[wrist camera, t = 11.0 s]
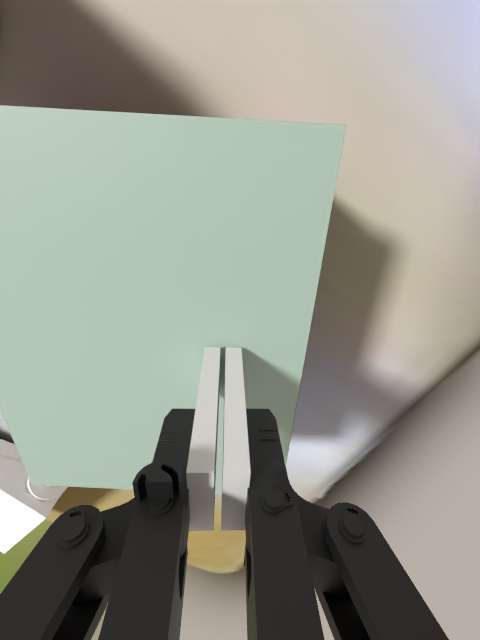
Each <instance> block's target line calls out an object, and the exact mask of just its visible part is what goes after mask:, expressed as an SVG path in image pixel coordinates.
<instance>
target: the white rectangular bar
mask: <svg viewBox="0 0 480 640" xmlns="http://www.w3.org/2000/svg"><path fill="white" fill-rule="evenodd" d="M67 487H68V486H46V485H32V483H31V481H30V479H29V476H28V474H27V472H26V469H25V467H24V464H23V462H22V460H21V457H20V455H19V453H18V450H17V448H16V446H15V444H13V443H10V442H7V441H4V440H2V439H0V551H1V552H2V553H6V552H7V551H8V550H9V549H10V548H12V547H13V546H14V545H15V544H16V543H17V542H18V541H20V540H21V539H22V538H23V537H24V536H26V535H27V534H28V533H29V532H30V531H32V530H33V529H34V528H35V527H36V526H37V525H39V524H40V523H41V522H42V521H43V520H45V519H46V518H47V516H48V515H49V513H50V512H51V510H52V508H53V506H54V505H55V503H56V502H57V500H58V499H59V498H60V496H61V495H62V493H63V492H64V491H65V490H66V489H67Z"/></svg>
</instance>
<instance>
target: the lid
mask: <svg viewBox="0 0 480 640" xmlns="http://www.w3.org/2000/svg"><path fill="white" fill-rule="evenodd" d="M345 130H346V125H343V124H325V123H307V122H289V121H271V120H254V119H236V118H218V117H200V116H182V115H165V114H147V113H129V112H111V111H93V110H76V109H58V108H40V107H22V106H4V105H0V410H1V412H2V415H3V417H4V420H5V422H6V424H7V427H8V429H9V431H10V434H11V436H12V438H13V441H14V443H15V446H16V448H17V450H18V453H19V455H20V457H21V460H22V462H23V464H24V467H25V469H26V472H27V474H28V476H29V479H30V481H31V483H32V485H46V486H68V487H89V488H110V489H131V490H134V489H133V484H132V482H133V480H134V478H135V476H136V474H137V473H138V472H139V471H140V470H141V469H142V468H143V467H144V466H146V465H148V464H150V463H152V462H153V458H154V454H155V451H156V447H157V443H158V439H159V436H160V432H161V428H162V425H163V421H164V418H165V417H166V416H167V414H168V413H169V412H170V411H171V409H172V408H173V409H196V402H197V395H198V389H199V382H200V375H201V368H202V361H203V354H204V348H205V347H220V392H219V414H218V437H217V460H216V482H215V493H216V494H222V473H223V429H224V386H225V353H226V347H228V348H241V349H242V363H243V376H244V390H245V403H246V409H269V410H270V411H271V412H272V414H273V415H274V416H275V418H276V421H277V426H278V432H279V436H280V442H281V446H282V451H283V456H284V461H285V466H286V461H287V456H288V450H289V444H290V439H291V433H292V428H293V422H294V416H295V411H296V405H297V400H298V394H299V388H300V383H301V377H302V371H303V366H304V360H305V355H306V349H307V343H308V338H309V332H310V327H311V321H312V315H313V310H314V304H315V299H316V293H317V287H318V282H319V276H320V270H321V265H322V259H323V254H324V248H325V242H326V237H327V231H328V226H329V220H330V214H331V209H332V203H333V197H334V192H335V186H336V181H337V175H338V169H339V164H340V158H341V153H342V147H343V141H344V136H345Z"/></svg>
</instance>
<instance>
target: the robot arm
mask: <svg viewBox="0 0 480 640" xmlns="http://www.w3.org/2000/svg"><path fill="white" fill-rule="evenodd" d="M219 392H220V347H205V348H204V354H203V361H202V368H201V375H200V382H199V389H198V395H197V402H196V409H173V408H172V409H171V411H170V412H169V413H168V414H167V416H166V417H165V418H164V421H163V425H162V428H161V432H160V436H159V439H158V443H157V447H156V451H155V454H154V458H153V462H152V463H150V464H148V465H146V466H144V467H143V468H142V469H141V470H140V471H139V472H138V473H137V474H136V476H135V478H134V480H133V482H132V484H133V489H134V495H135V498H133V499H132V500H130V501H129V502H127V503H125V504H122V505H120V506H117V507H114V508H111V509H108V510H105V511H102V512H100V511H99V509H97V508H95V507H94V506H92V505H80V506H77V507H74V508H71V509H69V510H68V511H66V512H65V513H63V514H62V515H60V516H59V517H58V518H57V519H56V520H55V522H54V523H53V524H52V525H51V526H50V527H49V529H48V530H47V531H46V533H45V534H44V535H43V537H42V538H41V540H40V541H39V542H38V544H37V545H36V546H35V548H34V549H33V550H32V552H31V553H30V555H29V556H28V557H27V559H26V560H25V561H24V563H23V564H22V566H21V567H20V569H19V570H18V571H17V572H16V574H15V575H14V576H13V578H12V579H11V580H10V582H9V583H8V585H7V586H6V587H5V589H4V590H3V591H2V593H1V594H0V640H91V638H92V636H93V634H94V632H95V630H96V628H97V625H98V623H99V621H100V619H101V616H102V615H103V612H104V610H105V608H106V606H107V604H108V606H107V609H106V613H105V617H104V620H103V624H102V628H101V632H100V635H99V639H98V640H179V636H180V627H181V616H182V606H183V595H184V585H185V575H186V565H187V555H188V551H187V540H188V531H204V530H213V527H214V505H215V482H216V460H217V437H218V414H219ZM245 529H246V547H245V557H244V566H245V570H246V603H247V635H248V640H324V636H323V631H322V626H321V621H320V616H319V611H318V605H317V600H316V595H315V590H314V588H315V589H316V593H317V595H318V598H319V601H320V603H321V605H322V608H323V611H324V613H325V616H326V619H327V621H328V624H329V626H330V629H331V632H332V634H333V637H334V639H335V640H449V639H448V638H447V636H446V634H445V633H444V631H443V630H442V628H441V627H440V625H439V623H438V622H437V621H436V619H435V617H434V616H433V614H432V612H431V611H430V609H429V608H428V606H427V605H426V603H425V602H424V600H423V598H422V597H421V595H420V593H419V592H418V591H417V589H416V587H415V586H414V584H413V582H412V581H411V579H410V578H409V576H408V575H407V573H406V571H405V570H404V569H403V567H402V565H401V563H400V562H399V560H398V559H397V557H396V556H395V554H394V552H393V551H392V549H391V548H390V546H389V544H388V543H387V541H386V540H385V538H384V537H383V535H382V533H381V532H380V530H379V529H378V527H377V526H376V524H375V522H374V521H373V520H372V519H371V518H370V516H369V515H368V514H367V513H366V512H365V511H364V510H362V509H361V508H359V507H358V506H356V505H353V504H350V503H337V504H335V505H334V506H332V507H331V508H330V509H327V508H324V507H321V506H318V505H315V504H313V503H310V502H308V501H306V500H304V499H303V498H301V497H300V496H299V495H298V494H297V493H296V492H295V491H294V490H293V488H292V487H291V485H290V483H289V480H288V476H287V471H286V466H285V461H284V456H283V451H282V446H281V442H280V436H279V432H278V426H277V421H276V418H275V416H274V415H273V414H272V412H271V411H270V410H269V409H246V403H245V390H244V376H243V363H242V349H241V348H228V347H226V353H225V386H224V429H223V473H222V518H221V530H245Z"/></svg>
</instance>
